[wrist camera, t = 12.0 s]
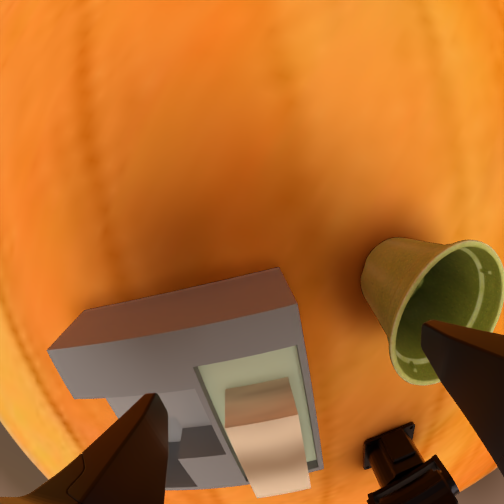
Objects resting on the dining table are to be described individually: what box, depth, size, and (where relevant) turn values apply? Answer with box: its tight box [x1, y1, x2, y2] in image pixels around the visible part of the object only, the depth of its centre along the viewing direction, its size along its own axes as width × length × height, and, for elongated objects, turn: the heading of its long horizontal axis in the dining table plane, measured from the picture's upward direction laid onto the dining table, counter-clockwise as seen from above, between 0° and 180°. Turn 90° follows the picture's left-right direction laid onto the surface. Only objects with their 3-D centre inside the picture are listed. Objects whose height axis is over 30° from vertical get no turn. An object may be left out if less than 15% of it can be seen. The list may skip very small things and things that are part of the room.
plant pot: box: [361, 237, 504, 385], centre depth 18 cm, size 9×9×9 cm
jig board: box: [47, 267, 324, 490], centre depth 21 cm, size 16×16×6 cm
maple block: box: [225, 377, 311, 498], centre depth 17 cm, size 9×4×4 cm, turn 12°
